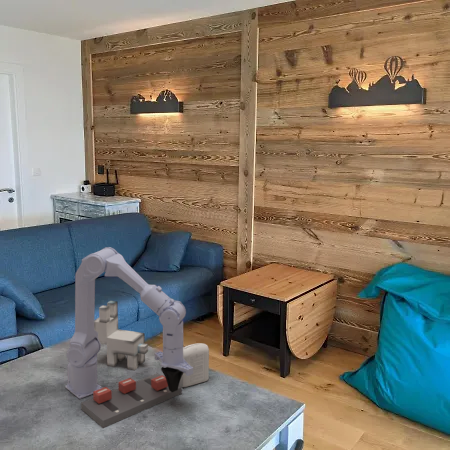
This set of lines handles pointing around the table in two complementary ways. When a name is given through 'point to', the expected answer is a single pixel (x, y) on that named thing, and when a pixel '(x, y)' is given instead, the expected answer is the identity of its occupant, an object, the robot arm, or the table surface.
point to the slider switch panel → (127, 402)
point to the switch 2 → (127, 385)
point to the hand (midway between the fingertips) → (173, 390)
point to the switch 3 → (159, 383)
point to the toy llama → (119, 338)
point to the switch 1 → (102, 395)
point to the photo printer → (196, 364)
